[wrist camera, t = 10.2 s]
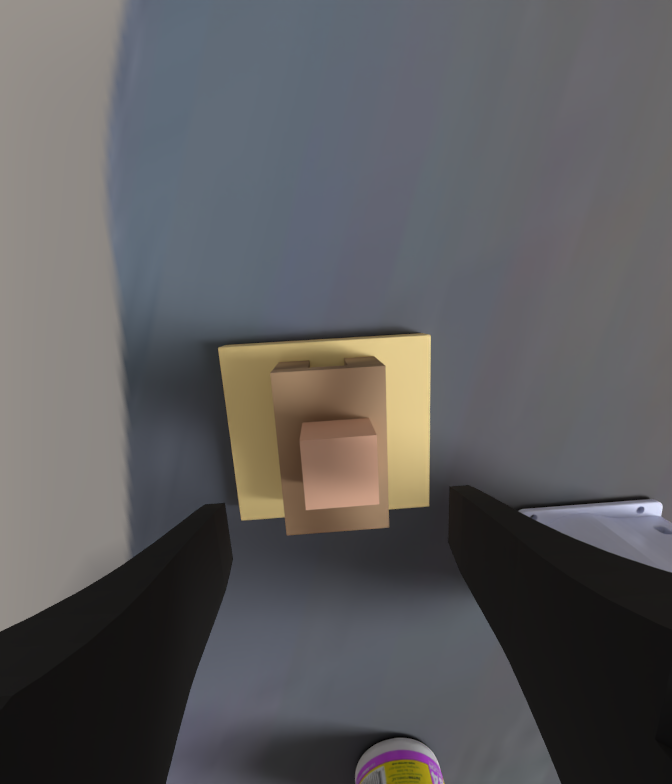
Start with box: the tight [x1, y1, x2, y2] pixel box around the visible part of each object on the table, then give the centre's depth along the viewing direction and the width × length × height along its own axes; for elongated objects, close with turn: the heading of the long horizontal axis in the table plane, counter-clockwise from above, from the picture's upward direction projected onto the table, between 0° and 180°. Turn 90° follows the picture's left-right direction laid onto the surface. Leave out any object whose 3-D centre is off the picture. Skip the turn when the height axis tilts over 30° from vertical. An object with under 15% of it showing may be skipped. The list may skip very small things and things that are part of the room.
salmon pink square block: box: [300, 418, 379, 510], centre depth 15 cm, size 3×3×2 cm
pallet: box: [270, 356, 389, 535], centre depth 17 cm, size 5×8×3 cm, turn 3°
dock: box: [218, 333, 431, 521], centre depth 20 cm, size 11×10×2 cm
